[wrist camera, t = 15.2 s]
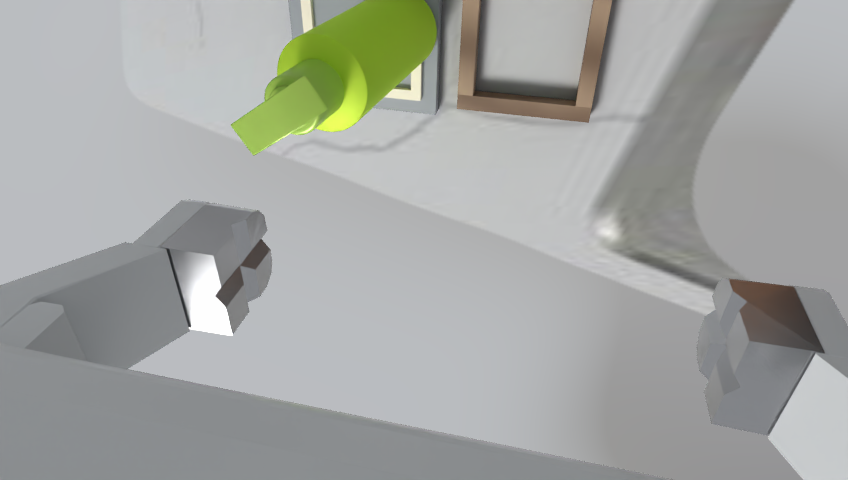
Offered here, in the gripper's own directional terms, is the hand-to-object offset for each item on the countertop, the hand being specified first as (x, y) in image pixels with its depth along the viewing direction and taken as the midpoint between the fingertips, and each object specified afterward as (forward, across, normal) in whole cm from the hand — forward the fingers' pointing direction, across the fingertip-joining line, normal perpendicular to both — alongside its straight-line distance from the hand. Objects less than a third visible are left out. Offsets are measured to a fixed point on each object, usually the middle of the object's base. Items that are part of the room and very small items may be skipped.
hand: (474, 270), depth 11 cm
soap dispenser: (+36, +10, +5) cm, 38 cm away
